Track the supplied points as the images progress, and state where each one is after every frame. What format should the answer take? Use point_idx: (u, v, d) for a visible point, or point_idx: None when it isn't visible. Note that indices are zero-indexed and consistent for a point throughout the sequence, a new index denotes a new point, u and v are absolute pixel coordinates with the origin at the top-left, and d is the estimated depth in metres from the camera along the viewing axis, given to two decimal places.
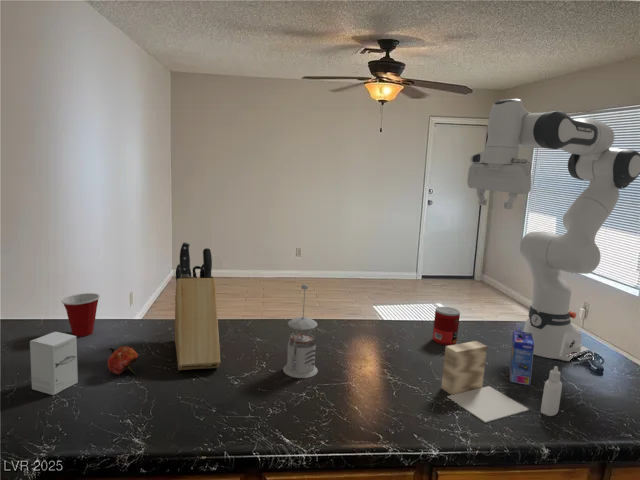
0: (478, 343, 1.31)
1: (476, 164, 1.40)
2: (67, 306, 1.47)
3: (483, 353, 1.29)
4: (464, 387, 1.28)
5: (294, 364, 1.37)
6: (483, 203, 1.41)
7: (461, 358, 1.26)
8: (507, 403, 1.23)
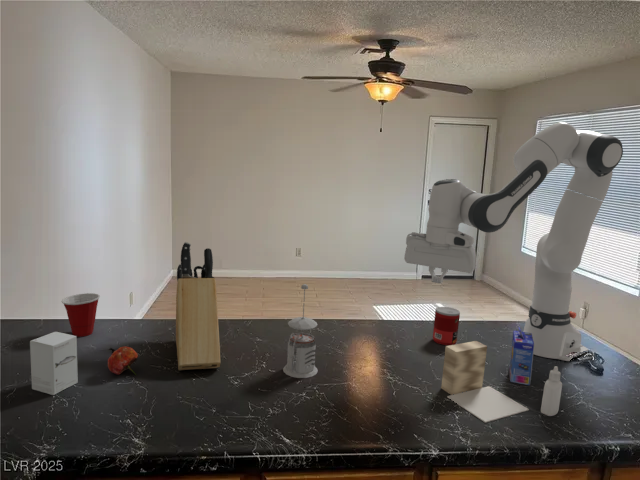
0: (478, 343, 1.31)
1: None
2: (67, 306, 1.47)
3: (483, 353, 1.29)
4: (464, 387, 1.28)
5: (294, 364, 1.37)
6: None
7: (461, 358, 1.26)
8: (507, 403, 1.23)
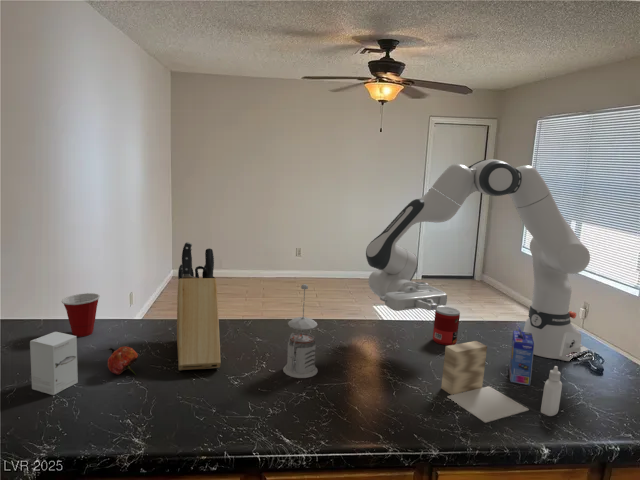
0: (478, 343, 1.31)
1: None
2: (67, 306, 1.47)
3: (483, 353, 1.29)
4: (464, 387, 1.28)
5: (294, 364, 1.37)
6: None
7: (461, 358, 1.26)
8: (507, 403, 1.23)
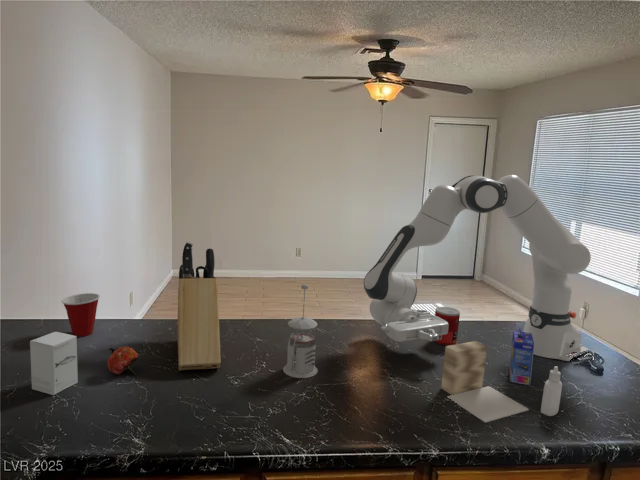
0: (478, 343, 1.31)
1: None
2: (67, 306, 1.47)
3: (483, 353, 1.29)
4: (464, 387, 1.28)
5: (294, 364, 1.37)
6: None
7: (461, 358, 1.26)
8: (507, 403, 1.23)
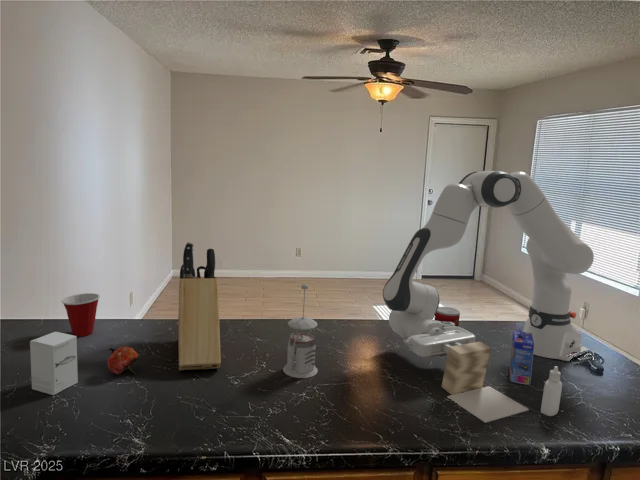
0: (482, 344, 1.30)
1: None
2: (67, 306, 1.47)
3: (486, 355, 1.28)
4: (465, 387, 1.28)
5: (294, 364, 1.37)
6: None
7: (464, 360, 1.25)
8: (507, 403, 1.23)
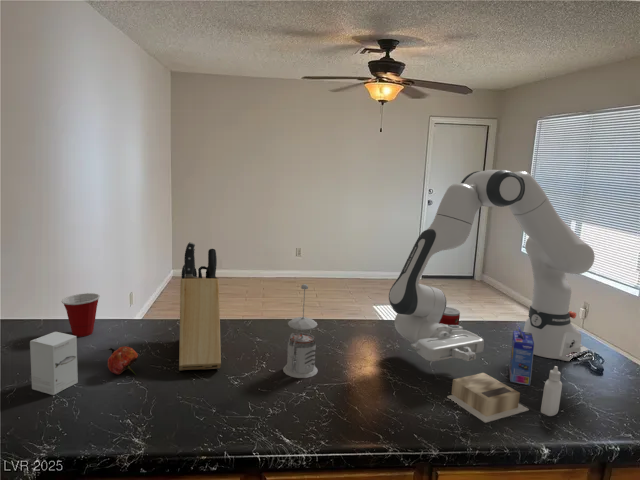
0: (516, 399, 1.20)
1: None
2: (67, 306, 1.47)
3: None
4: None
5: (294, 364, 1.37)
6: None
7: None
8: None
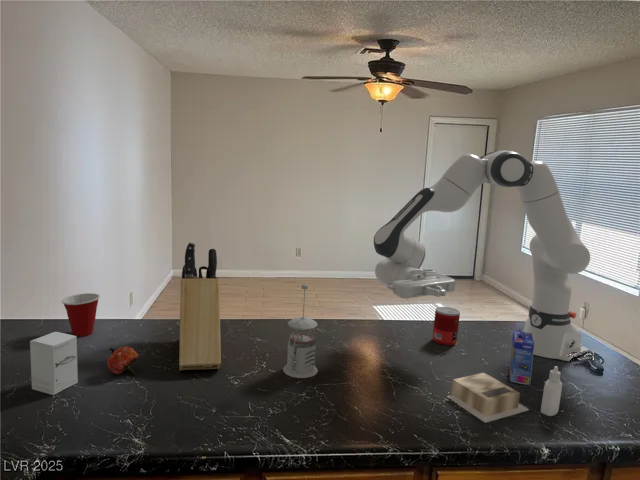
0: (516, 399, 1.20)
1: None
2: (67, 306, 1.47)
3: None
4: None
5: (294, 364, 1.37)
6: None
7: None
8: None
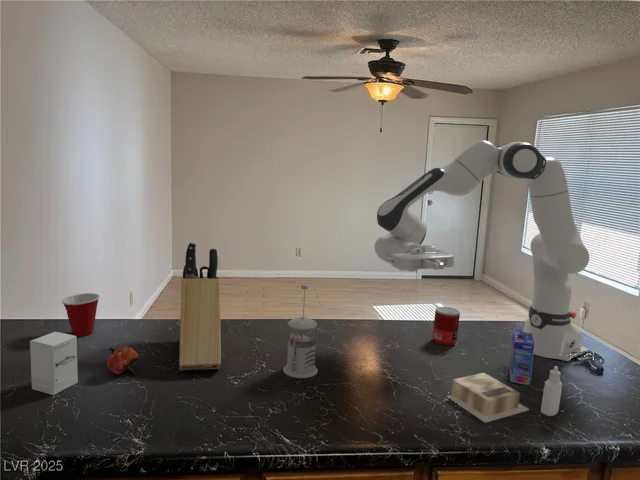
0: (516, 399, 1.20)
1: None
2: (67, 306, 1.47)
3: None
4: None
5: (294, 364, 1.37)
6: None
7: None
8: None
